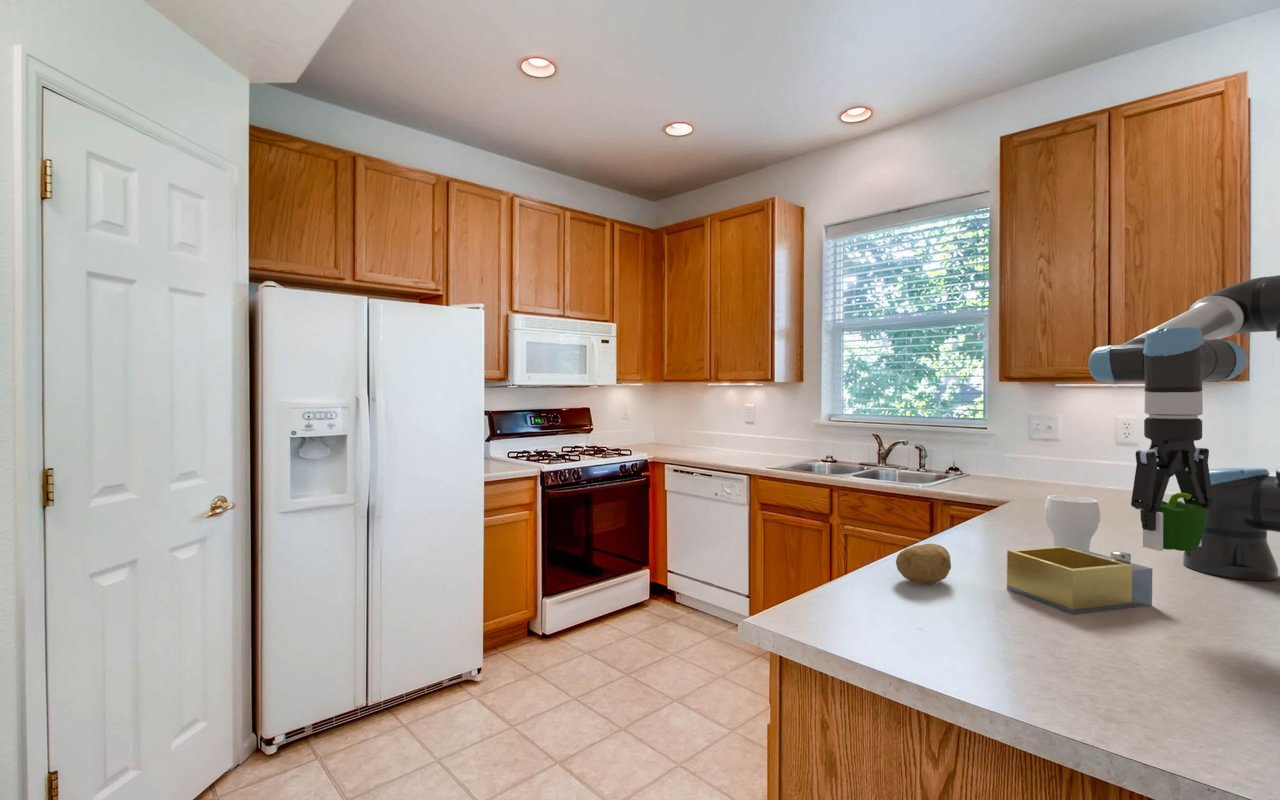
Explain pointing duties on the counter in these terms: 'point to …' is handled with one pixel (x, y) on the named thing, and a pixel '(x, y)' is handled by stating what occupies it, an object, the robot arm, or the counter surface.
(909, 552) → the potato
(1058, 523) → the cup
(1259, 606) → the counter surface
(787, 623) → the counter surface
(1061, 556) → the gold open box
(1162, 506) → the bell pepper
